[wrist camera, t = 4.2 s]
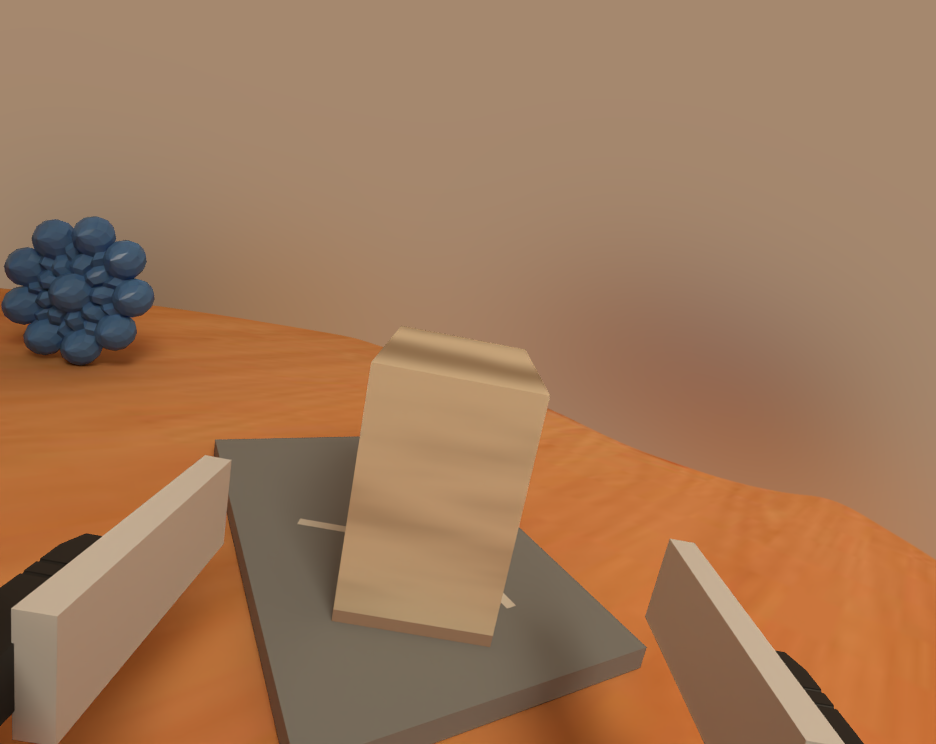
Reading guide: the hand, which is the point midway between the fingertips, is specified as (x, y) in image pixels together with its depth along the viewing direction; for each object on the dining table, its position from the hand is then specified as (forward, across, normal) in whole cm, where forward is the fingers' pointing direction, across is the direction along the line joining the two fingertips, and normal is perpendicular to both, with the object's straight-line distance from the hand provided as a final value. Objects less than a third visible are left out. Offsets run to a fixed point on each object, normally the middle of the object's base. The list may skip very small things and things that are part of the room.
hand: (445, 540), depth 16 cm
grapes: (+29, -30, -7) cm, 42 cm away
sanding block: (+7, 0, -6) cm, 9 cm away
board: (+10, -2, -7) cm, 13 cm away
